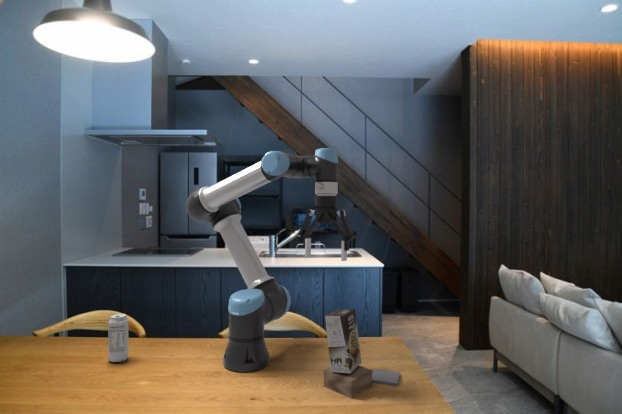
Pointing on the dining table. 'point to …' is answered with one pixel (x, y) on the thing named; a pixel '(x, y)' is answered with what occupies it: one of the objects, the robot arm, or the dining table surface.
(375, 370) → the slate coaster
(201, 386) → the dining table surface
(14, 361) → the dining table surface
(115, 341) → the energy drink can
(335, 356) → the coffee box
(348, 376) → the walnut block
